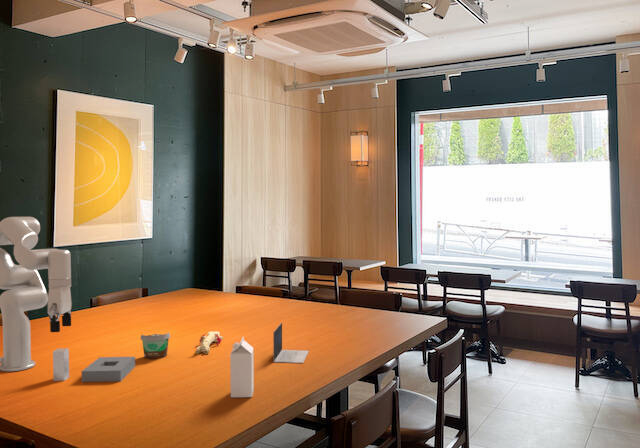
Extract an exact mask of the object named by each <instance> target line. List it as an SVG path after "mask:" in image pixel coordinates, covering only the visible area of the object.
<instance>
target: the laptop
mask: <svg viewBox="0 0 640 448" xmlns="http://www.w3.org/2000/svg"><path fill="white" fill-rule="evenodd" d="M272 339H273V345H272V347H273V348H272V349H273V355H272V356H273V358H272V359H273V361H272V362H273V363H278V364H279V363H280V364H282V363H283V364H284V363H286V364H304V362H305V360H306V358H307V356H308V355H309V351H310V350H300V349H299V350H297V349H296V350H295V349H283V323H282V322H281V323H280V324H279V325H278V326H277V327H276V329H275V330H274V331H273V338H272Z"/></svg>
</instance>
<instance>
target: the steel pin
mask: <svg viewBox="0 0 640 448" xmlns="http://www.w3.org/2000/svg"><path fill="white" fill-rule="evenodd" d="M69 353H70V351H69V347H67V348H66V347H65V348H57V349H55V350H53V351H52V362H53V363H52V366H53V367H52V369H53V371H52V372H53V373H52V374H53V377H52V378H53V382H63V381H64V382H65V381H67V379H69V378H70V354H69Z"/></svg>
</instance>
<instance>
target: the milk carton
mask: <svg viewBox="0 0 640 448" xmlns="http://www.w3.org/2000/svg"><path fill="white" fill-rule="evenodd" d="M229 357H230V358H229V359H230V398H252V397H253V395H254V391H255V390H254V388H255V386H254V383H255V382H254V380H255V379H254V377H255V376H254V375H255V374H254V371H255V369H254V366H255V365H254V347H253V346H252V345H251V344H249V343H248V342H247V341H246V340H245V337H244V336H242V337H241V340H240V342H239V343H238V342H237V341H236V342H235V343H234V344H232V350H231V352H230V356H229Z"/></svg>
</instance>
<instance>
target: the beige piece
mask: <svg viewBox="0 0 640 448" xmlns="http://www.w3.org/2000/svg"><path fill="white" fill-rule="evenodd" d="M220 334H221V333H220V332H219V331H209V332H208V333H204V334H202V335H201V337H200V339H199V343H200V345H198V347H197V348H196V350H195V352H194V353H195V354H196V355H200V354H201V353H203V354H204V355H208V354H209V353H210V350H211V347H210V345H211V344H212V343H213V342H214V343H216V346H219V345H220V344H221V342H222V340H224V336H222V335H220Z"/></svg>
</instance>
